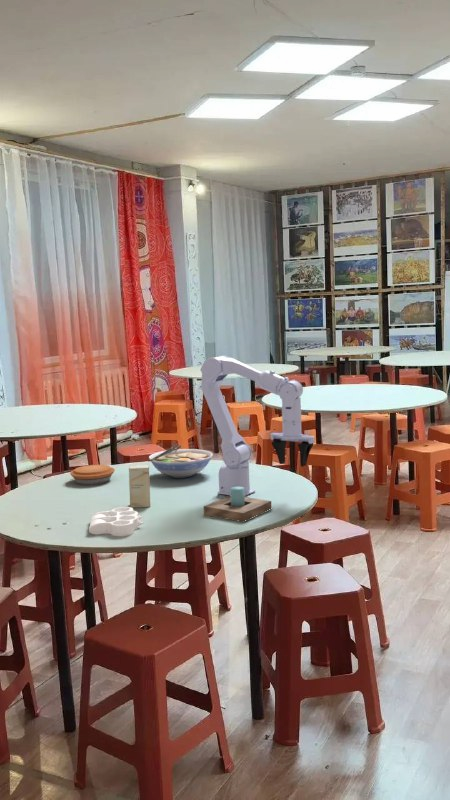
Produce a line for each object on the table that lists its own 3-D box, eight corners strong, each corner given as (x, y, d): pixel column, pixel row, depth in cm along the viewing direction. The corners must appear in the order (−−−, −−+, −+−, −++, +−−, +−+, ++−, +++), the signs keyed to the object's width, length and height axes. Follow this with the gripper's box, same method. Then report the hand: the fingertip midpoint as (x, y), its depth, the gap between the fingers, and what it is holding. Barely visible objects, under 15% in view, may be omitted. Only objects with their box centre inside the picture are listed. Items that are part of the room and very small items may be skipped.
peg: (228, 512, 208) (227, 488, 207) (237, 509, 211) (236, 485, 210) (239, 514, 205) (238, 490, 204) (247, 511, 208) (247, 487, 207)
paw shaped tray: (92, 520, 206) (143, 516, 208) (88, 540, 189) (144, 536, 191) (91, 508, 206) (142, 505, 208) (88, 527, 188) (144, 523, 190)
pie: (117, 484, 247) (116, 470, 246) (71, 488, 243) (70, 474, 243) (113, 474, 262) (112, 461, 261) (70, 478, 258) (69, 464, 257)
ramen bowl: (197, 486, 240) (196, 462, 239) (136, 482, 248) (135, 459, 247) (224, 469, 263) (223, 447, 262) (167, 466, 271) (166, 445, 270)
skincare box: (130, 508, 216) (127, 468, 214) (130, 504, 220) (128, 465, 219) (151, 506, 217) (149, 467, 215) (151, 502, 221) (149, 464, 219)
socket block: (204, 514, 206) (203, 506, 206) (232, 502, 217) (232, 494, 217) (243, 521, 198) (243, 513, 198) (271, 509, 209) (271, 501, 209)
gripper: (264, 421, 219) (265, 464, 221) (305, 424, 210) (306, 469, 212) (276, 417, 224) (278, 460, 226) (317, 420, 216) (318, 465, 217)
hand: (292, 464), depth 219 cm, fingers open, 7 cm apart
